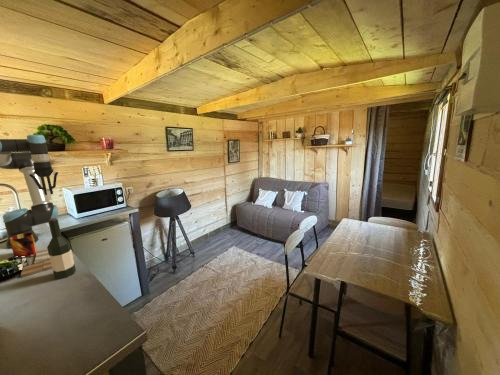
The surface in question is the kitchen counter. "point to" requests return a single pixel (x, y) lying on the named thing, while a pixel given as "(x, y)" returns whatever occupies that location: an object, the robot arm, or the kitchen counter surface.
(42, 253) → the plank
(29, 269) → the floorboard
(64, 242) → the wine bottle
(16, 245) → the mug
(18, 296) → the kitchen counter surface
